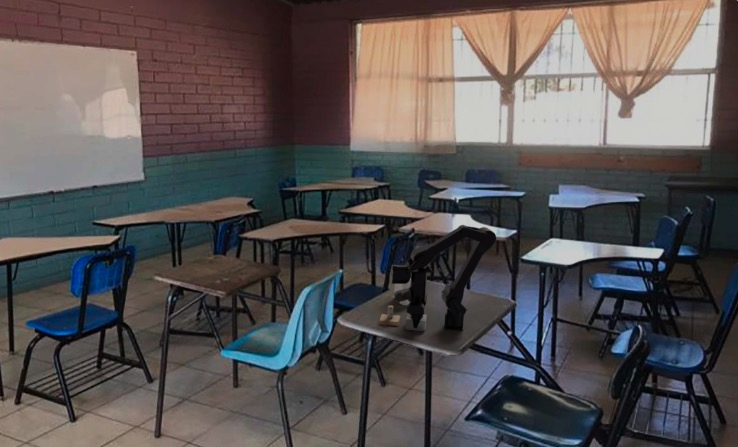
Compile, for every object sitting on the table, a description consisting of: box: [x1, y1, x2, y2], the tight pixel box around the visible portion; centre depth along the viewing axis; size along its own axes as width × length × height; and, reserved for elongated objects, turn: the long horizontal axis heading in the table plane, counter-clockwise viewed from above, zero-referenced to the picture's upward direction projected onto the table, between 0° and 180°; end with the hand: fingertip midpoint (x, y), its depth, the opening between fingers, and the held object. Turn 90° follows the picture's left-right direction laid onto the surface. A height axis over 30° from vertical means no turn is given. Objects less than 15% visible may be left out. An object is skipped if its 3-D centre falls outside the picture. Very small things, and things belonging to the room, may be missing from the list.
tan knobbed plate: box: [379, 305, 401, 327], centre depth 233 cm, size 7×7×6 cm
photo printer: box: [393, 278, 411, 306], centre depth 256 cm, size 10×4×12 cm, turn 17°
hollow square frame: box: [405, 313, 428, 332], centre depth 229 cm, size 7×7×4 cm
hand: (416, 324), depth 229 cm, fingers closed on hollow square frame, 7 cm apart
